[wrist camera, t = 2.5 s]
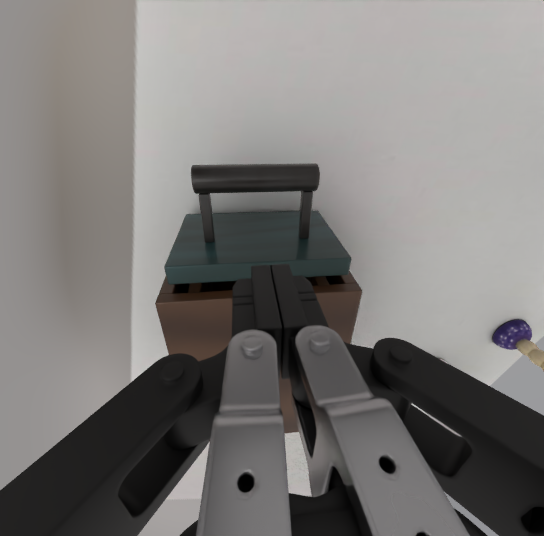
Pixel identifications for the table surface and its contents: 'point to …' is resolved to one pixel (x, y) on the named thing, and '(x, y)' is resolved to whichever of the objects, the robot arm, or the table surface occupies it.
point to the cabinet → (218, 323)
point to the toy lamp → (519, 340)
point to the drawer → (253, 230)
